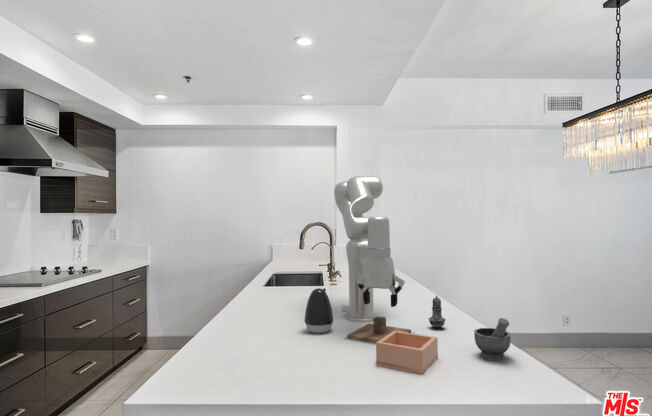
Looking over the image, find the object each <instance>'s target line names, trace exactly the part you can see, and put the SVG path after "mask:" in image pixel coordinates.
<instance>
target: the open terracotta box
mask: <svg viewBox="0 0 652 416" xmlns="http://www.w3.org/2000/svg"><path fill="white" fill-rule="evenodd" d="M413 333H414V332H413ZM413 333H407V332H400V331H393V332H392V333H390V334H388V335H387V336H385V337H384V338H382V339H381V340H379V341H378V342H376V345H375V356H376V357H375V358H376V359H375V360H376V361H375V363H376V364H375V365H376V366H380V367H386V368H391V369H393V370H394V369H396V370H400V371H405V372H409V373H415V374H419V375H424V374H425V372H426V371H427V370H428V369H429V368H430V367H431V366H432V365H433V364H434V362H436V360H437V359H438V358H439V356H438V355H439V352H438V351H439V349H438V348H439V345H438V343H439V342H438V336H432V335H425V334H419V333H414V334H413Z"/></svg>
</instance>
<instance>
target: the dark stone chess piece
mask: <svg viewBox="0 0 652 416" xmlns="http://www.w3.org/2000/svg"><path fill="white" fill-rule="evenodd" d="M431 310H432V316H431V317H428V322H429V324H430V325H431V327H430V330H433V331H443V330H445V328H444V327H443V326H444V325H445V323H446V318H444V317H443V315H442V310H443V308H442V300H441V298H439V297H438V295H435V297H434V298H433V299H432V307H431Z"/></svg>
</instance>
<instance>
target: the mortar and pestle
mask: <svg viewBox="0 0 652 416" xmlns="http://www.w3.org/2000/svg"><path fill="white" fill-rule="evenodd" d="M509 326H510V322H509V320H508V319H506V318H504V317H500V318H498V322H497V325H496V327H495V328H493V327H480V328H476V329H474V330H473V333H474V343H475V345H476V346H477V348H478V350H480V352H481V353H480V356H481V359H484V360H488V361H493V362H496V361H497V362H500V361H503V359H504V360H505V356H504V353H506V352H507V351H508V350H509V348H510V346H511V341H512V340H511V333H510V332H509V331H507V327H509Z"/></svg>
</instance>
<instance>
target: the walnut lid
mask: <svg viewBox="0 0 652 416" xmlns="http://www.w3.org/2000/svg"><path fill="white" fill-rule="evenodd" d="M393 331H400V332H407V333H411V332H412V329H409V328H402V327H395V326H389V325H387V317H385V316H379V315H377V317H375V318H373V321H372V323H367V324H365V325H364V326H362V327H359V328H357V329H356V330H354V331H351V333H348V334H347V335H346V337H347V339H352V340H358V341H364V342H370V343H375V344H376V342H378V341H379V340H381V339H382V338H384V337H385V336H387V335H388V334H390V333H392V332H393Z"/></svg>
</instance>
